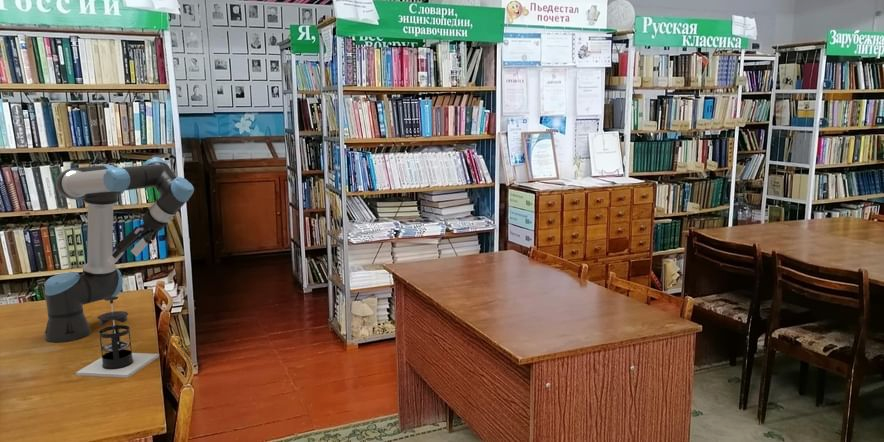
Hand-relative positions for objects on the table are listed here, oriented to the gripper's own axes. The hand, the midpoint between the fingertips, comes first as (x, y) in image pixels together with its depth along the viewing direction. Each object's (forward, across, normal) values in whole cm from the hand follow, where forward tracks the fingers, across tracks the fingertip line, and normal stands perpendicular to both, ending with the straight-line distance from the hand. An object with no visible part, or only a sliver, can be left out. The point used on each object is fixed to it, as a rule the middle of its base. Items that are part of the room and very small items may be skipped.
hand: (122, 258), depth 227 cm
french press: (+20, -14, -26) cm, 36 cm away
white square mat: (+21, -14, -27) cm, 37 cm away
